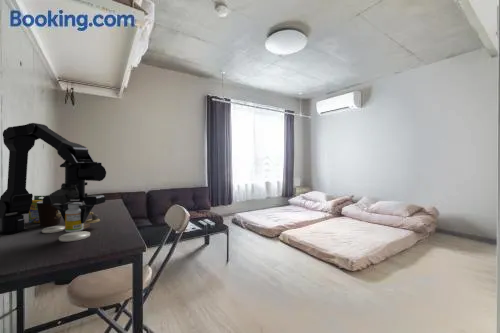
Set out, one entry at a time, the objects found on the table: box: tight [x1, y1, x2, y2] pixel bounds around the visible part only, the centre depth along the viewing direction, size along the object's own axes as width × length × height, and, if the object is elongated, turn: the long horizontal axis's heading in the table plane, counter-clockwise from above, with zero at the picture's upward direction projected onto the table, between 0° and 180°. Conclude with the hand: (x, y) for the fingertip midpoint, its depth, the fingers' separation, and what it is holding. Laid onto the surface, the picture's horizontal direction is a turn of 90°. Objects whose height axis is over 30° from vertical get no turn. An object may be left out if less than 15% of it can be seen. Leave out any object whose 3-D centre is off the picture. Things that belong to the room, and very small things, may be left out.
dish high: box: [41, 225, 65, 234], centre depth 89 cm, size 7×7×1 cm
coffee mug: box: [37, 201, 62, 228], centre depth 98 cm, size 12×9×10 cm
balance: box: [56, 211, 101, 230], centre depth 93 cm, size 17×5×9 cm, turn 91°
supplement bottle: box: [64, 202, 85, 233], centre depth 82 cm, size 5×5×10 cm
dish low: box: [58, 230, 91, 243], centre depth 82 cm, size 9×9×1 cm
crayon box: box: [28, 195, 46, 224], centre depth 100 cm, size 7×3×12 cm, turn 93°
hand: (74, 223), depth 82 cm, fingers closed on supplement bottle, 5 cm apart
